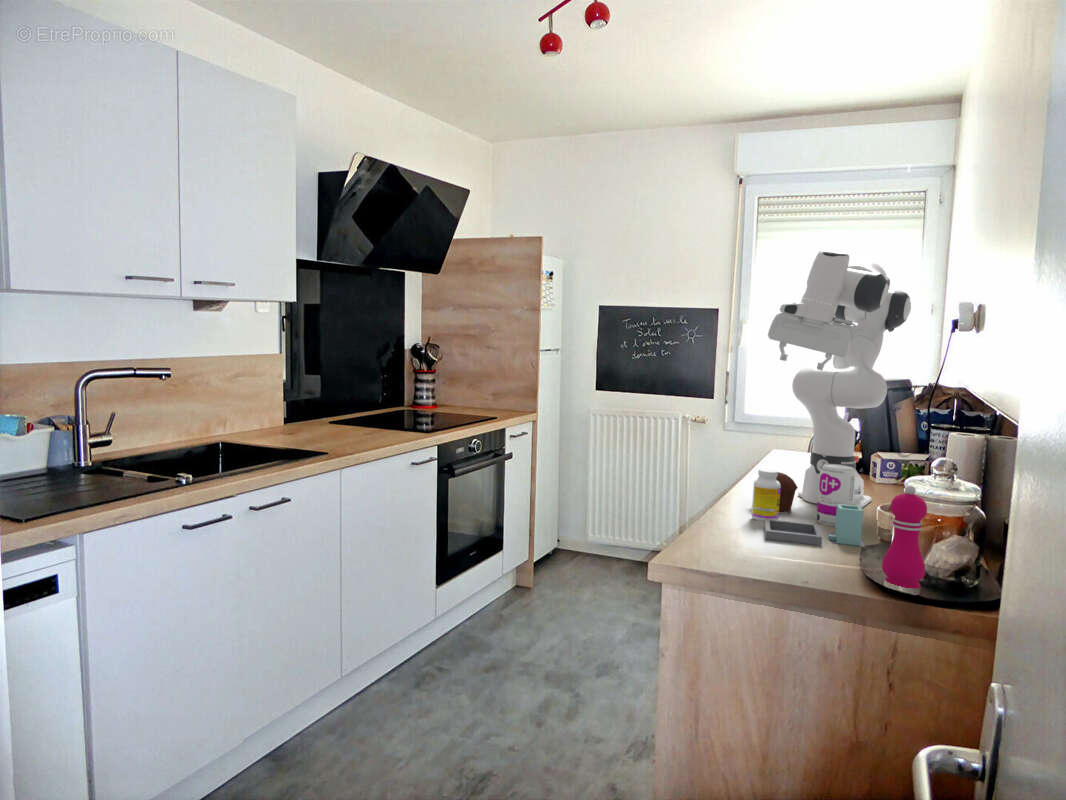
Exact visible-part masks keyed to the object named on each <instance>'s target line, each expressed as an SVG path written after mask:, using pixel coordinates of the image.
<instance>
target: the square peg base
mask: <svg viewBox="0 0 1066 800" xmlns="http://www.w3.org/2000/svg"><path fill="white" fill-rule="evenodd" d="M830 541H831V540H830ZM831 544H832V545H840V546H841V545H842V546H849V547H858V548H859V547H860V548H863V547H862V546H864V545H865V543H864V542H863V540H862V539H861V544H860V545H851V544H842V543H836V541H831Z"/></svg>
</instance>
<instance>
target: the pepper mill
mask: <svg viewBox="0 0 1066 800" xmlns="http://www.w3.org/2000/svg"><path fill="white" fill-rule="evenodd" d="M916 491H917V490H916V488H915V487H914V486H913V485H907V486H906V487H905V488H904V493H900V494H897V495H896V496H894V497H893V499H892V500H891V501H890V511H891V513H892V515H893V516H894V517H893V518H892V523H891V526H892V527H893V537H892V541H891V543H890V546H889V547H888V549H887V551H886V552H885V554H884V556H883V558H882V561H881V562H882V563H881V569H882V572H883V573H884V574H885V576H886V577H884V578H885V580H886V581H887V582H889V583H891V584H894V585H897V586H901V587H905V588H915V589H916V588H920V587H922V585H921V583H919V581H921V580H922V579H923V578H924V577H925V575H926V566H925V565H926V564H925V560H924V558H923V555H922V553H921V549H920V545H919V544H920V543H919V536H920V531H922V530H923V526H922V525H924V524H923V523H924V522H923V521H922V520H923V519H924V518H925V517H926V515H927V512H928V506H927V503H926V501H925V499H923V498H922V497H921V496H919V495H917V494H916Z"/></svg>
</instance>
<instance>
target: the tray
mask: <svg viewBox="0 0 1066 800" xmlns="http://www.w3.org/2000/svg"><path fill="white" fill-rule="evenodd" d="M764 538H765V541H773V542H778V543H779V542H780V543H781V542H782V543H791V544H797V545H807V546H815V547H822V542H823V536H822V533H821V531H820V527H819V525H818V524H815V523H807V522H797V521H790V520H789V521H788V520H780V519H778V520H771V519H765V521H764Z"/></svg>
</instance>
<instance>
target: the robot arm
mask: <svg viewBox="0 0 1066 800" xmlns="http://www.w3.org/2000/svg"><path fill="white" fill-rule="evenodd" d="M849 263H850V255H849V254H848V253H846V252H843V251H839V250H833V249H831V250H830V249H822V250H819V251H818V253H817V255H816V257H815V259H814V261H813V262H812V266H811V268H810V272H809V274H808V276H807V281H806V289H805V292H804V293H803V295H802V297H801V301H800V302H799V303H798V302H794V303H785V304H781V305H780V308H779V313H778V314H776V315H775V316H774V318H773V320H772V322H771V324H770V326H769V329H768V332H767V337H768V338H769V340H771V341H775V342H776V341H777V342H779V344H778V347H779V350H780V351H779V352H780V358H779V360H780V361H783V362H786V361H787V360H788V356H789V354H787V353H786V352H785V347H787V344H789V345H792V346H795V347H800V348H805V349H809V350H812V351H817V352H821V353H825V355H824V358H825V359H824V360H823V361H822V362H818V363H817V366H816V367H815V366H814V367H809V368H802V369H800V370H799V371H798V372H797V373H796V374H795V376H794V378H793V380H792V392H793V394H794V396H795V398H796V399H797V400H798V401H799V402H800V403H802V405H803V406H804V407H805V409H806V411H807V412H808V413H809V416H810V419H811V422H812V426H813V431H812V432H813V445H812V451H811V452H810V456H809V461H810V462H809V463H810V466H809V467H808V468H807V469H806V470H805V471H804V472H805V473H804V478H803V484H802V491H799V492H798V493H797V497H800V498H802V499H803V500H804V501H806V502H809V503H813V504H816V505H817V502H818V490H819V477H820V470H821V468H822V467H823V465H824V464H838V465H846V466H850V467H852V468H853V471H854V473H855V483H854V495H853V506H860V507H861V508H862V509H863V508H864V507H866V505H868V504H869V503H870V502H872V496H869V495H866V494H864V489H865V481H864V479H863V478H862V477H861V475H860V474H859V473H858V471H857V469H856V468H857V465H856V463H858V462H859V461H860V457H859V455H855V443H856V430H855V427H854V426H853V425H852V423H850V422H848V421H847V420H846V419H844V418H842V417H841V416H840V414H839V413H838V411H837V410H838V409H837V408H838V407H839V408H840V407H841V408H849V409H850V408H851V409H858V410H859V409H870V408H877V407H879V406H880V405H881V404H883V402H884V401H885V399H886V397H887V394H888V385H887V381H886V379H885V378H884V376H883V375H882V374H881V373H879V372H876V370H874V369H873V367H874V365H875V363H876V361H877V359H878V357H879V355H880V352H881V349H882V347H883V341H884V333H885V331H888V332H889V333H891V332H893V331H894V330H895V329H896V328H898V327H900V326H902V325H903V324H904V323H905V322H906V321H907V319H908V317H909V315H910V313H911V311H912V310H911V309H912V303H911V297H910V296H909V294H908V293H907V292H905V291H901V290H898V289H896V290H892V289H890V285H891V279H890V278H889V277H888V276H887V272H886V271H885V269H884V268H883V267H881V266H880V264H878V263H875V262H870V261H858V262H853V263H852V264H850V265H849ZM856 324H857V325H856ZM831 359H832V365H833V367H825V365H826V364H828V362H830V360H831Z"/></svg>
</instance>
